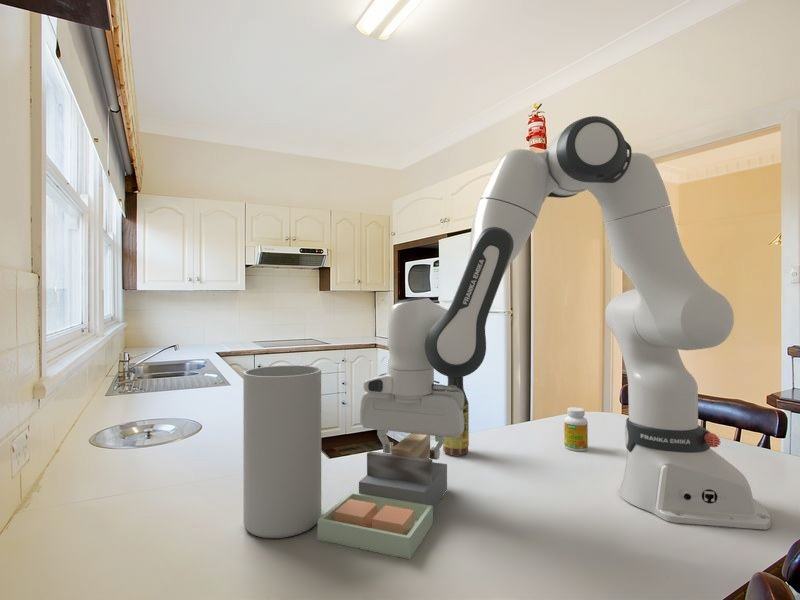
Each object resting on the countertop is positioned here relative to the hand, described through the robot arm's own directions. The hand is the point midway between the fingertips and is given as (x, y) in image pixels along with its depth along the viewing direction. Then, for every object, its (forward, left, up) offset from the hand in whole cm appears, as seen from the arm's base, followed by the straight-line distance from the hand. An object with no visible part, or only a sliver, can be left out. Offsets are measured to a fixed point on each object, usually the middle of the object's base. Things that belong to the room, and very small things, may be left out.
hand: (410, 455), depth 87 cm
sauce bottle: (-2, -26, -7) cm, 27 cm away
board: (0, +3, -7) cm, 8 cm away
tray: (0, +16, -7) cm, 17 cm away
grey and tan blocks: (0, 0, -2) cm, 2 cm away
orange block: (+3, +16, -4) cm, 17 cm away
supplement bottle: (-29, -40, -7) cm, 50 cm away
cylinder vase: (+16, +18, -7) cm, 25 cm away
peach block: (-3, +16, -4) cm, 17 cm away
